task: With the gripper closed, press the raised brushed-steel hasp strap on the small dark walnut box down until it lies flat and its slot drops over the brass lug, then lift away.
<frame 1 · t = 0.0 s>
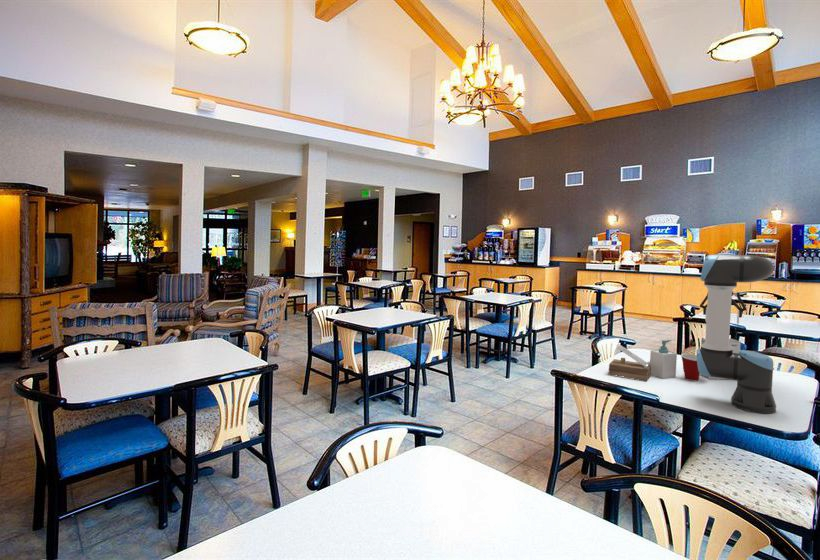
hand: (721, 322, 230), 28 cm above the table, tool pointing down, fingers open, 13 cm apart
walnut box: (629, 375, 230), on the table
hard drive box: (718, 377, 227), on the table
steel hasp: (633, 356, 229), point 11 cm above the table, hinge at 30.0°
plastic cup: (692, 379, 224), on the table
soap bottle: (662, 375, 230), on the table
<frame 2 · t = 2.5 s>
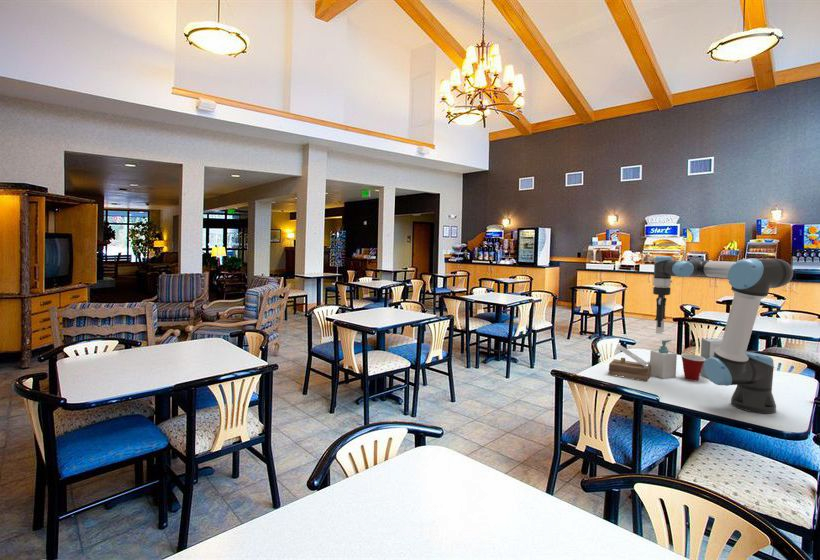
hand: (659, 332, 221), 25 cm above the table, tool pointing down, fingers open, 4 cm apart
nothing on the table moved.
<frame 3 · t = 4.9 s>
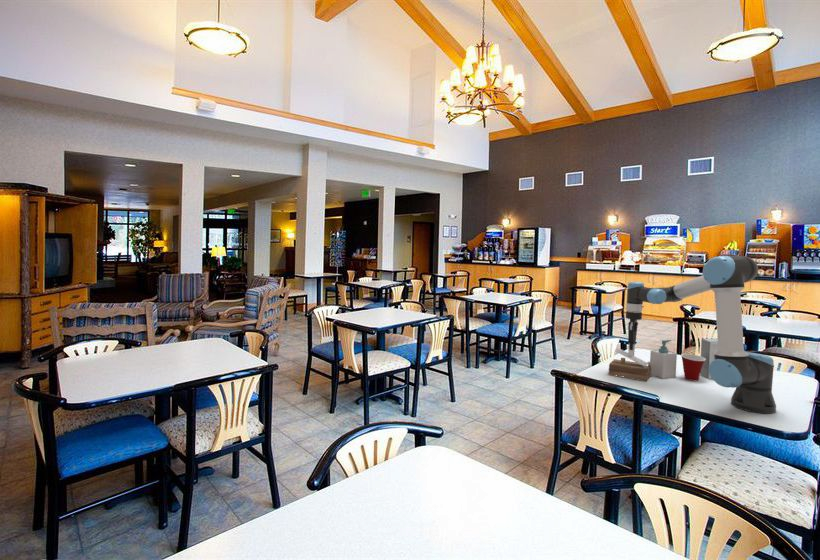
hand: (631, 355, 229), 11 cm above the table, tool pointing down, fingers closed
steel hasp: (632, 357, 229), point 10 cm above the table, hinge at 22.7°, touching gripper
everything else where it was.
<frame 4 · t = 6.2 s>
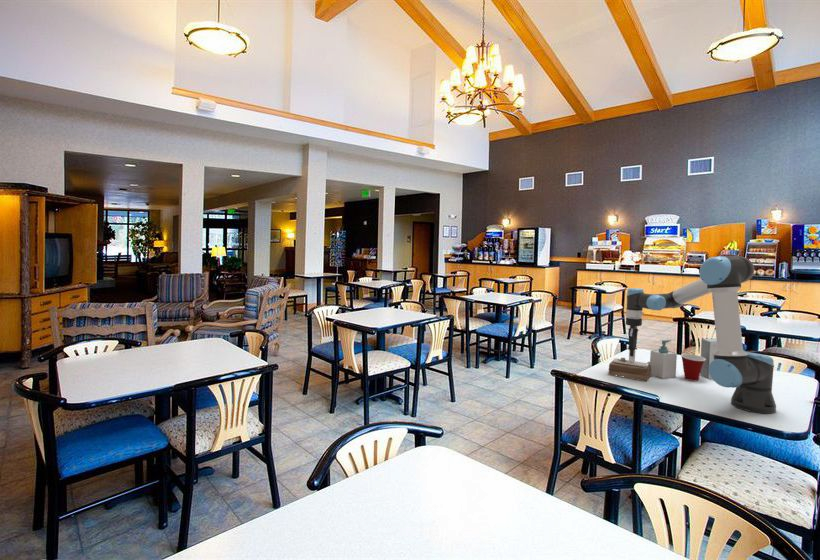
hand: (631, 361, 230), 7 cm above the table, tool pointing down, fingers closed
steel hasp: (630, 362, 230), point 7 cm above the table, hinge at 0.9°, touching gripper
everything else where it was.
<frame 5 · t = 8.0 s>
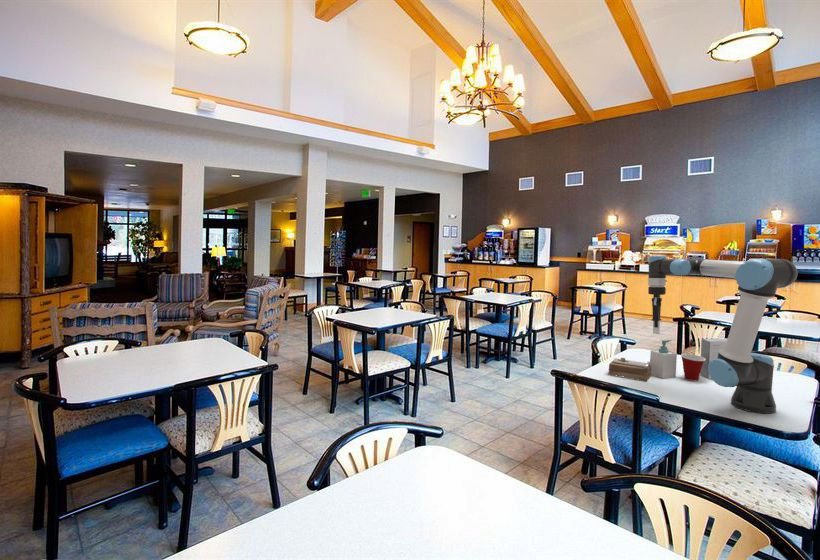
hand: (656, 333, 217), 25 cm above the table, tool pointing down, fingers closed
steel hasp: (630, 362, 230), point 7 cm above the table, hinge at 0.8°
everything else where it was.
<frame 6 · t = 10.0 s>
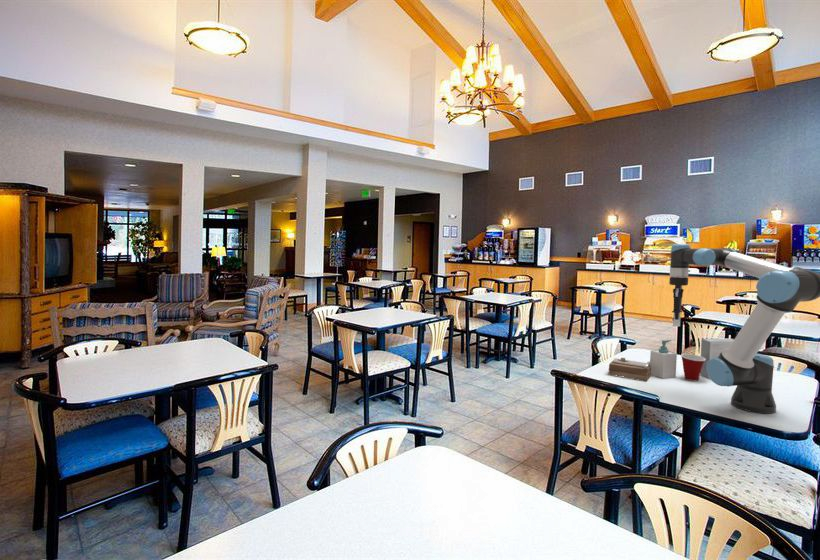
hand: (676, 325, 207), 30 cm above the table, tool pointing down, fingers closed
nothing on the table moved.
at the end: steel hasp at +1° (first picture: +30°); the gripper is holding nothing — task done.
